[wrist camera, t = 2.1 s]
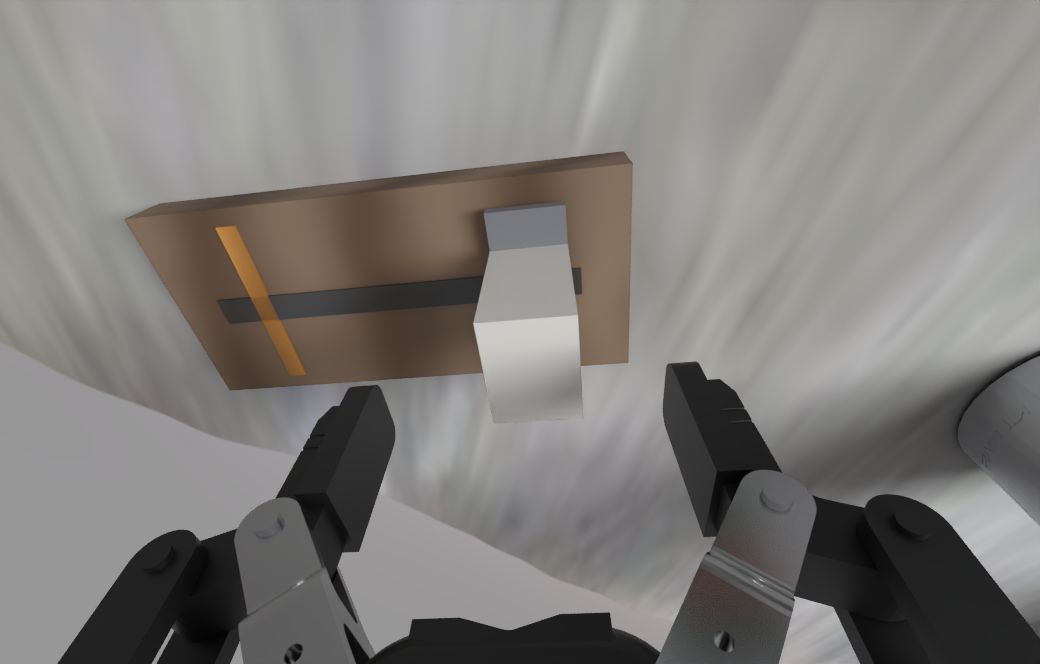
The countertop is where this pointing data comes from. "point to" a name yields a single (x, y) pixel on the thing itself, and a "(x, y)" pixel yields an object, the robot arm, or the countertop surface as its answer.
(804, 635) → the countertop surface
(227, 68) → the countertop surface
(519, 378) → the fader
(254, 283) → the board
